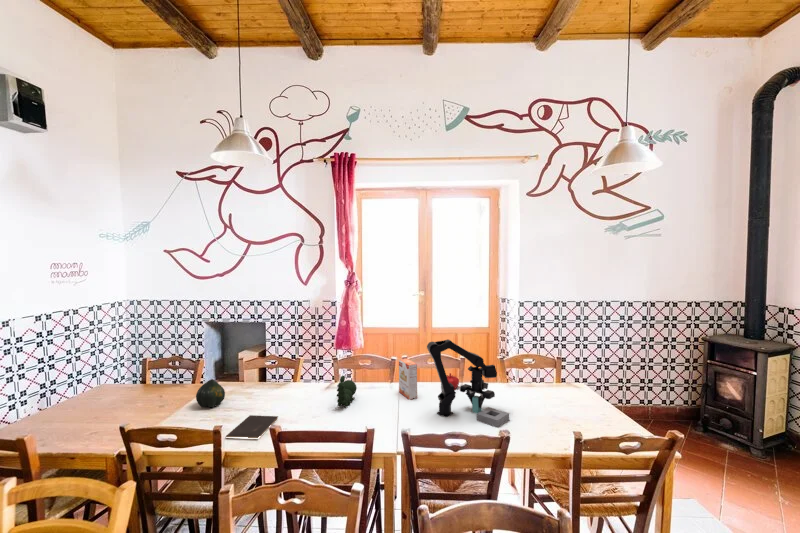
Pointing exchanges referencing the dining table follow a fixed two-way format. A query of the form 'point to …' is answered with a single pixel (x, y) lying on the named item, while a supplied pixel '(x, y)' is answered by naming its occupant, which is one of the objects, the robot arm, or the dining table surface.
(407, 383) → the cracker box
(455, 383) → the pomegranate
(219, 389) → the squash
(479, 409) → the teal rectangular block
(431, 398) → the dining table surface
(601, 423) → the dining table surface
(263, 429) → the hardcover book
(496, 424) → the socket block
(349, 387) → the toy figurine
